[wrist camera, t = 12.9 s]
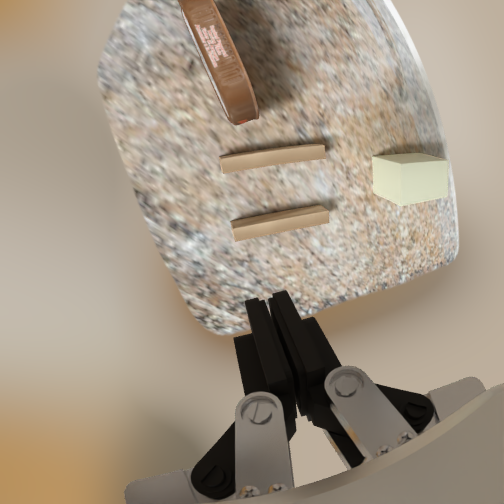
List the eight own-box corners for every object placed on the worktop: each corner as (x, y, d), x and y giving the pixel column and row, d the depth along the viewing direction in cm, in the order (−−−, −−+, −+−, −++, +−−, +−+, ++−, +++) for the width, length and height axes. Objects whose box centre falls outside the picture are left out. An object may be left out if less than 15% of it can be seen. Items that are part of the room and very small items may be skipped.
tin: (252, 119, 27) (272, 116, 19) (225, 129, 27) (234, 129, 19) (204, 7, 20) (207, -29, 12) (176, 16, 20) (170, -18, 12)
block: (371, 156, 31) (400, 163, 25) (419, 152, 32) (448, 160, 26) (372, 193, 33) (400, 206, 28) (419, 185, 34) (447, 196, 29)
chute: (219, 156, 28) (220, 159, 26) (315, 143, 29) (324, 145, 27) (232, 233, 32) (235, 241, 30) (320, 215, 33) (329, 222, 31)
